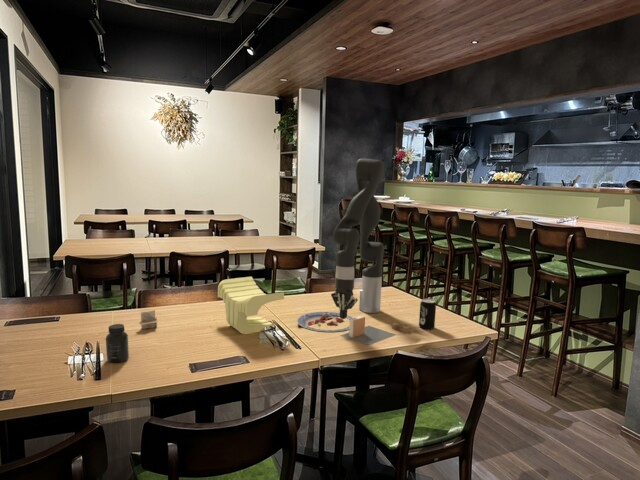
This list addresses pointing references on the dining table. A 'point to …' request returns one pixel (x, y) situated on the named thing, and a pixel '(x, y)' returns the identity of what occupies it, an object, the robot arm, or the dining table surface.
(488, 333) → the dining table surface
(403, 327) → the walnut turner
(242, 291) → the slatted curved stool
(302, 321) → the ceramic plate
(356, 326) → the tile
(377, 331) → the slate board
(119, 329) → the supplement bottle
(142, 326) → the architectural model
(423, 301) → the beverage can
